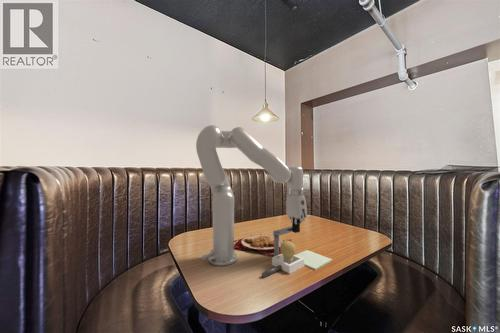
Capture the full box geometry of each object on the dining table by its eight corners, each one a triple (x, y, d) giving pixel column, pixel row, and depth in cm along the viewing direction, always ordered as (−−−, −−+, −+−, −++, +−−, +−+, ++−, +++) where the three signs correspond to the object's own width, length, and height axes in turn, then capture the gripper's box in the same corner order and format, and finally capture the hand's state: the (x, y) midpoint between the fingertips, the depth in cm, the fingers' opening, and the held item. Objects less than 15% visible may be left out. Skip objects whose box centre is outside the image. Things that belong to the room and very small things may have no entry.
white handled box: (271, 283, 68) (271, 253, 68) (249, 269, 78) (249, 243, 78) (304, 266, 81) (304, 240, 81) (282, 256, 90) (281, 233, 90)
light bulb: (293, 261, 84) (293, 238, 85) (297, 269, 78) (297, 244, 78) (279, 262, 84) (278, 238, 85) (281, 269, 78) (281, 244, 78)
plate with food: (280, 259, 88) (280, 251, 88) (229, 248, 99) (229, 241, 99) (291, 242, 111) (292, 236, 111) (249, 234, 122) (249, 229, 122)
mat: (315, 270, 77) (315, 268, 77) (289, 258, 87) (289, 257, 87) (332, 260, 86) (332, 259, 86) (306, 251, 96) (306, 249, 96)
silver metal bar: (299, 229, 95) (299, 226, 95) (276, 236, 85) (276, 232, 85) (294, 228, 97) (294, 225, 97) (272, 235, 87) (271, 231, 87)
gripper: (313, 193, 86) (314, 235, 86) (291, 191, 100) (291, 226, 99) (300, 195, 83) (301, 238, 83) (279, 192, 96) (280, 229, 96)
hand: (296, 231), depth 91 cm, fingers closed
